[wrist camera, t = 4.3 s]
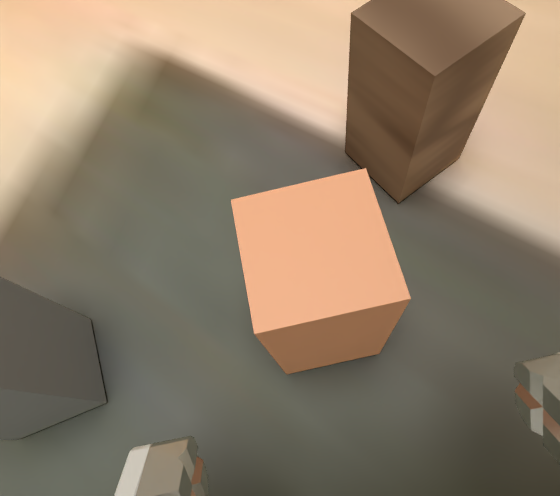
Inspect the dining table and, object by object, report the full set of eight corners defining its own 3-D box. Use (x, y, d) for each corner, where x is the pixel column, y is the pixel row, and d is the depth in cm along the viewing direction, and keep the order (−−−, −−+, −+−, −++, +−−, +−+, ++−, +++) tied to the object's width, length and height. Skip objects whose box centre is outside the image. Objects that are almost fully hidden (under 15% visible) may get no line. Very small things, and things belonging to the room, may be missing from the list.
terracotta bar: (353, 267, 22) (365, 168, 14) (379, 353, 20) (410, 298, 12) (269, 286, 22) (231, 199, 14) (286, 374, 20) (254, 334, 12)
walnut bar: (403, 111, 25) (436, -42, 17) (459, 158, 24) (526, 12, 16) (345, 151, 25) (351, 12, 17) (398, 203, 23) (434, 76, 15)
